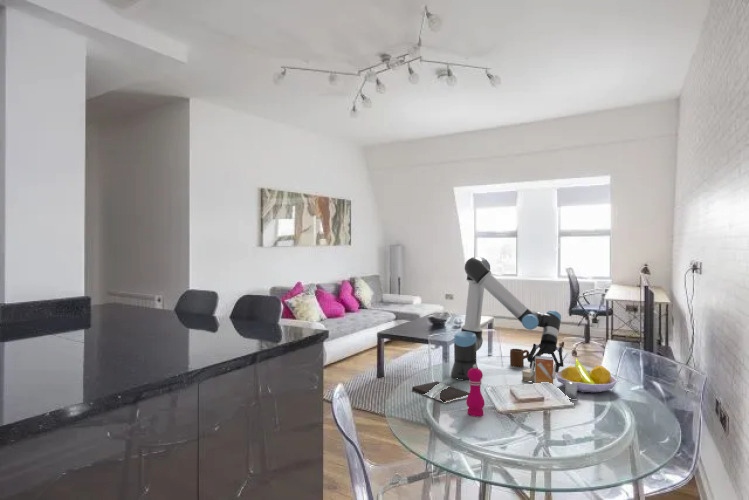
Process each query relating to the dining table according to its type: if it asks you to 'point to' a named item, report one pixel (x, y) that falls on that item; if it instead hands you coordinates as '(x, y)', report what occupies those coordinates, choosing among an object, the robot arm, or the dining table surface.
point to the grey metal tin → (571, 389)
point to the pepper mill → (475, 392)
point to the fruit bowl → (587, 378)
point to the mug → (518, 357)
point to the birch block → (528, 375)
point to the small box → (543, 369)
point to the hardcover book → (445, 394)
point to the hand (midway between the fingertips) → (542, 375)
